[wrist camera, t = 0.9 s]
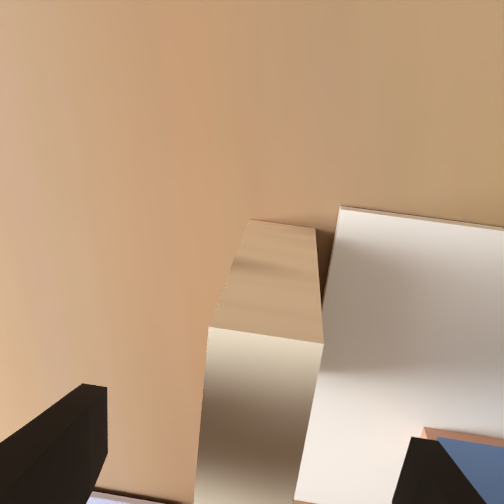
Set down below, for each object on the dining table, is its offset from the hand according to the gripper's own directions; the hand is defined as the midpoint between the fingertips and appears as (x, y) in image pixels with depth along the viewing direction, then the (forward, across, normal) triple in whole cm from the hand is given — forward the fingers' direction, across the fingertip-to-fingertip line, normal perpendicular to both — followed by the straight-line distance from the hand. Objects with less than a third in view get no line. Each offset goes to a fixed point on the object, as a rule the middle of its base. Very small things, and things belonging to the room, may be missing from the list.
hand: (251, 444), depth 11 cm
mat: (+8, -10, +3) cm, 13 cm away
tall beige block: (+8, 0, 0) cm, 8 cm away
